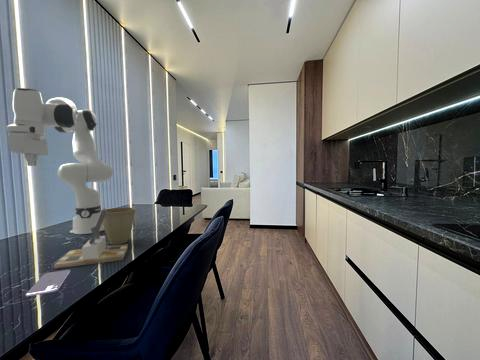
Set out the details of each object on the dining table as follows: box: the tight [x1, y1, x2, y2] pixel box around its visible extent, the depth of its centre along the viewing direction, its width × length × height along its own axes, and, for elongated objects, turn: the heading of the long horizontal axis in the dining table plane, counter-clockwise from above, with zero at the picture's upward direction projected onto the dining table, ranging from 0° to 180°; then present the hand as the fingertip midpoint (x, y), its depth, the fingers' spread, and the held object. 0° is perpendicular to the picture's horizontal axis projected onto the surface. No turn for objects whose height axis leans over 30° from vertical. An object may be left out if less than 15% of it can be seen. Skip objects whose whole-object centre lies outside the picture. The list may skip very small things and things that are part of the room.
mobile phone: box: [25, 269, 71, 297], centre depth 72 cm, size 8×1×15 cm
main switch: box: [88, 207, 108, 244], centre depth 89 cm, size 4×1×14 cm, turn 19°
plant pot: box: [100, 206, 136, 246], centre depth 110 cm, size 15×15×16 cm
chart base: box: [53, 243, 129, 270], centre depth 92 cm, size 15×22×2 cm
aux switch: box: [91, 226, 101, 239], centre depth 95 cm, size 4×1×5 cm, turn 19°
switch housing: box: [81, 235, 107, 260], centre depth 92 cm, size 13×5×5 cm, turn 19°
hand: (32, 165), depth 90 cm, fingers closed
